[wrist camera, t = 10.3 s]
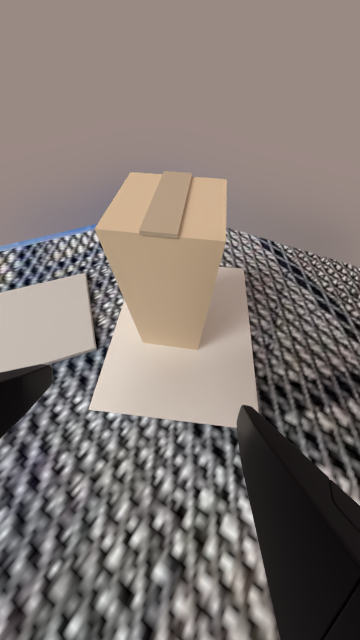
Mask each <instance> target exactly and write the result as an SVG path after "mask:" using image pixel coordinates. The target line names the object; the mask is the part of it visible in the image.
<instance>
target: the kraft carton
mask: <svg viewBox="0 0 360 640" xmlns="http://www.w3.org/2000/svg"><path fill="white" fill-rule="evenodd" d="M226 187H227V180H226V179H214V178H202V177H192V173H183V172H170V171H164V172H163V175H162V174H148V173H135V172H131V173H130V174H129V176H128V177H127V179H126V180H125V182H124V184H123V185H122V187H121V189H120V190H119V191H118V193H117V195H116V196H115V198H114V200H113V201H112V202H111V204H110V206H109V207H108V209H107V210H106V212H105V213H104V215H103V217H102V218H101V220H100V221H99V223H98V224H97V226H96V228H95V231H96V233H97V236H98V238H99V240H100V243H101V245H102V247H103V250H104V252H105V255H106V257H107V259H108V262H109V264H110V266H111V269H112V271H113V273H114V276H115V278H116V281H117V283H118V285H119V288H120V290H121V292H122V295H123V297H124V300H125V302H126V304H127V307H128V309H129V311H130V314H131V316H132V318H133V321H134V323H135V326H136V328H137V330H138V333H139V335H140V337H141V340H142V342H143V343H149V344H156V345H164V346H171V347H179V348H186V349H194V350H198V347H199V343H200V339H201V335H202V331H203V327H204V324H205V320H206V316H207V312H208V308H209V304H210V300H211V297H212V293H213V289H214V285H215V281H216V277H217V273H218V270H219V266H220V262H221V258H222V254H223V250H224V246H225V243H226Z"/></svg>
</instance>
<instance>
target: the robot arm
mask: <svg viewBox="0 0 360 640" xmlns="http://www.w3.org/2000/svg"><path fill="white" fill-rule="evenodd" d="M51 384H52V366H50V365H46V364H38V365H34V366H29V367H24V368H19V369H14V370H10V371H5V372H0V438H1V437H2V436H3V435H4V434H5V433H6V432H7V431H8V430H10V429H11V428H12V427H13V426H14V425H15V424H16V423H17V422H18V421H19V420H20V419H21V418H22V417H23V416H24V415H25V414H26V413H27V412H28V411H29V409H30V408H31V407H32V406H33V405H34V404H35V403H36V402H37V400H38V399H39V398H40V397H41V396H42V395H43V394H44V392H45V391H46V390H47V389H48V388H49V387H50V385H51ZM237 433H238V441H239V449H240V457H241V464H242V469H243V474H244V478H245V483H246V487H247V492H248V496H249V501H250V505H251V509H252V514H253V518H254V523H255V527H256V532H257V536H258V541H259V545H260V550H261V554H262V559H263V563H264V568H265V572H266V577H267V581H268V586H269V590H270V595H271V599H272V604H273V608H274V613H275V617H276V622H277V626H278V631H279V635H280V640H360V506H359V505H358V504H357V503H356V502H355V501H354V500H353V499H352V498H350V497H349V496H348V495H347V494H346V493H345V492H344V491H343V490H342V489H341V488H339V487H338V486H337V485H336V484H335V483H334V482H333V481H332V480H329V478H328V477H327V476H326V475H325V474H324V473H323V472H322V471H321V470H320V469H319V468H318V467H317V466H316V465H314V464H313V463H312V462H311V461H310V460H309V459H308V458H307V457H306V456H305V455H304V454H303V453H301V452H300V451H299V450H298V449H297V448H296V447H295V446H294V445H293V444H292V443H291V442H289V441H288V440H287V439H286V438H285V437H284V436H283V435H282V434H281V433H280V432H279V431H278V430H276V429H275V428H274V427H273V426H272V425H271V424H270V423H269V422H268V421H267V420H266V419H265V418H263V417H262V416H261V415H260V414H259V413H258V412H257V411H256V410H255V409H254V408H253V407H251V406H248V405H241V407H240V411H239V414H238V418H237Z"/></svg>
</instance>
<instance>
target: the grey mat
mask: <svg viewBox="0 0 360 640" xmlns="http://www.w3.org/2000/svg"><path fill="white" fill-rule="evenodd" d="M94 350H97V349H96V341H95V334H94V326H93V318H92V311H91V303H90V296H89V288H88V281H87V275H86V274H85V273H83V274H79V275H75V276H70V277H66V278H62V279H57V280H53V281H49V282H44V283H40V284H36V285H31V286H27V287H23V288H18V289H14V290H10V291H6V292H1V293H0V372H5V371H10V370H14V369H19V368H24V367H29V366H34V365H38V364H46V365H49V364H52V363H55V362H58V361H62V360H65V359H68V358H71V357H75V356H78V355H81V354H84V353H87V352H91V351H94Z"/></svg>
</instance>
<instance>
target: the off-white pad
mask: <svg viewBox="0 0 360 640" xmlns="http://www.w3.org/2000/svg"><path fill="white" fill-rule="evenodd" d="M241 405H248V406H251V407H253V408H254V409H255V410H256V411H257V412H258V413H259V411H258V401H257V392H256V382H255V373H254V363H253V353H252V344H251V334H250V324H249V315H248V305H247V295H246V286H245V276H244V269H239V268H227V267H219V270H218V273H217V277H216V281H215V285H214V289H213V293H212V297H211V300H210V304H209V308H208V312H207V316H206V320H205V324H204V327H203V331H202V335H201V339H200V343H199V347H198V350H194V349H186V348H179V347H171V346H164V345H156V344H149V343H143V342H142V340H141V337H140V335H139V333H138V330H137V328H136V326H135V323H134V321H133V318H132V316H131V314H130V311H129V309H128V307H127V304H126V302H125V301H124V304H123V307H122V310H121V313H120V316H119V319H118V322H117V325H116V328H115V331H114V334H113V337H112V340H111V343H110V346H109V349H108V352H107V355H106V358H105V361H104V364H103V367H102V370H101V373H100V376H99V380H98V383H97V386H96V389H95V392H94V395H93V398H92V401H91V404H90V407H89V410H95V411H103V412H111V413H119V414H127V415H135V416H144V417H152V418H160V419H168V420H176V421H184V422H192V423H200V424H208V425H216V426H225V427H233V428H237V418H238V414H239V411H240V407H241Z"/></svg>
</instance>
